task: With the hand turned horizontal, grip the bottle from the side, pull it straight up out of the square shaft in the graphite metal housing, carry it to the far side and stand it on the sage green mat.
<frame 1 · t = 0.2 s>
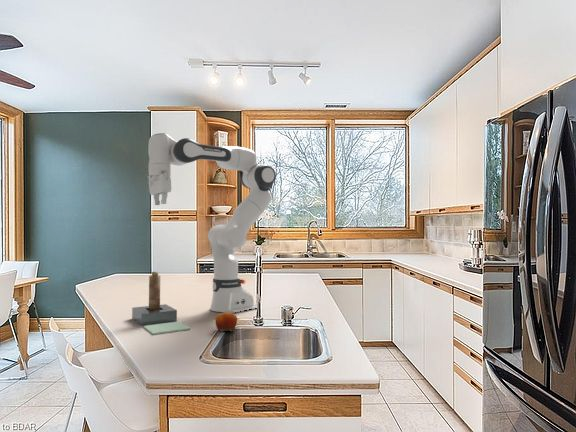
hand: (160, 204, 180), 47 cm above the worktop, tool pointing down, fingers open, 8 cm apart
bottle: (154, 295, 174), in the housing
mat: (166, 328, 161), on the worktop
housing: (154, 319, 174), on the worktop
fruit: (226, 331, 160), on the worktop
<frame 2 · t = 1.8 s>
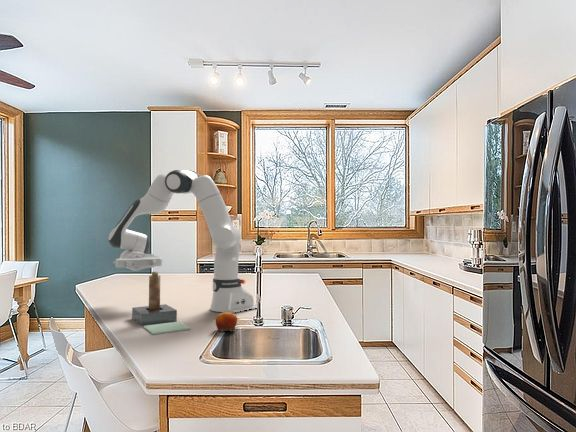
hand: (143, 264, 188), 21 cm above the worktop, tool horizontal, fingers open, 8 cm apart
nothing on the worktop moved.
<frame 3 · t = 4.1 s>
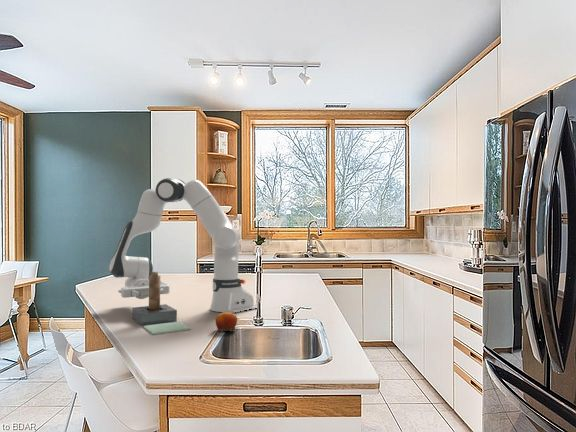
hand: (150, 293, 180), 10 cm above the worktop, tool horizontal, fingers open, 8 cm apart
nothing on the worktop moved.
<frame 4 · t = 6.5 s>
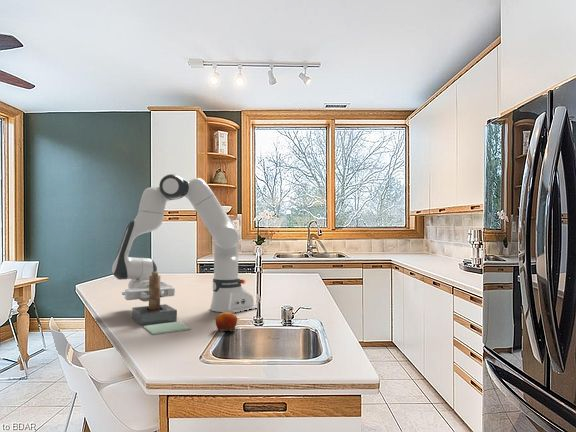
hand: (155, 295, 174), 10 cm above the worktop, tool horizontal, fingers closed on bottle, 4 cm apart
bottle: (154, 295, 174), in the housing, touching gripper
everything else where it was.
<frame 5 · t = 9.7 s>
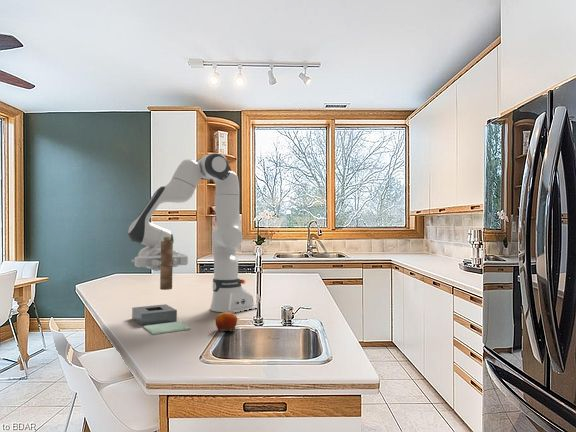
hand: (167, 262, 161), 25 cm above the worktop, tool horizontal, fingers closed on bottle, 4 cm apart
bottle: (166, 263, 162), point 25 cm above the worktop, touching gripper
everything else where it was.
when the fingers open (12 cm above the worktop, at t = 13.1 s): bottle drops 1 cm, resting on mat.
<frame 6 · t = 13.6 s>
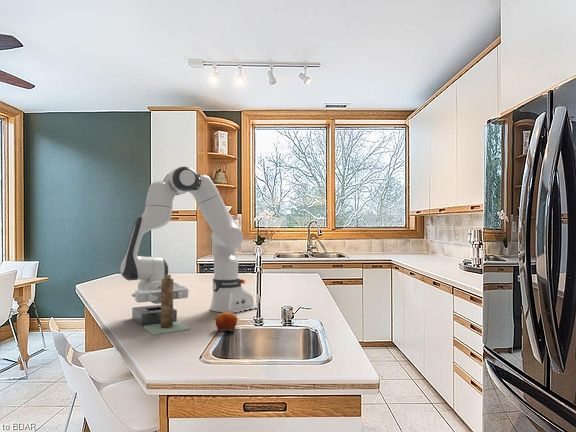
hand: (168, 297, 160), 12 cm above the worktop, tool horizontal, fingers open, 8 cm apart
bottle: (167, 301, 161), on the mat, point 10 cm above the worktop
everything else where it was.
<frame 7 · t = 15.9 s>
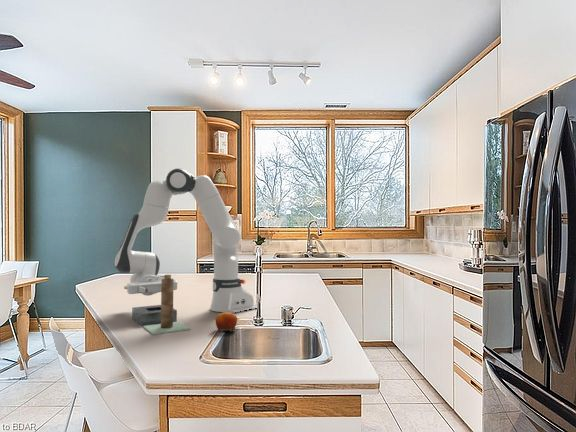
hand: (157, 289, 172), 13 cm above the worktop, tool horizontal, fingers open, 8 cm apart
nothing on the worktop moved.
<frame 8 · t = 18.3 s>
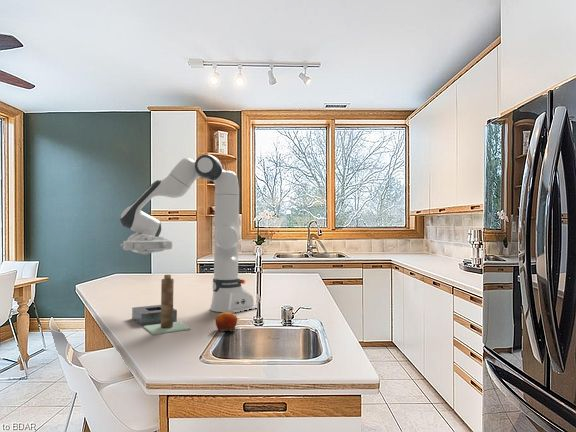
hand: (153, 246, 177), 30 cm above the worktop, tool horizontal, fingers open, 8 cm apart
nothing on the worktop moved.
at the end: bottle inside the target area on the mat (0.0 cm from its centre), point 10.4 cm above the mat's base; bottle tilted 0°; the gripper is holding nothing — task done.
